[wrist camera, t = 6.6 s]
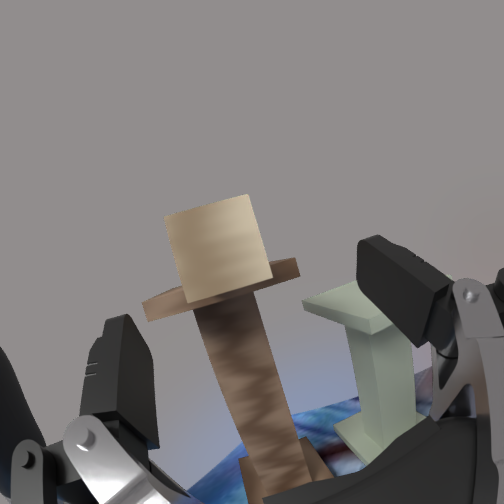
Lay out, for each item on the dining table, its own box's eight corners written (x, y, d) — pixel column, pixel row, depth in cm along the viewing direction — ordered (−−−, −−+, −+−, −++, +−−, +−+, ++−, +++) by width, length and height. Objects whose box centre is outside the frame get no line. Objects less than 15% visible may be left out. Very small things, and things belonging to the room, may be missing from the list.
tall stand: (260, 539, 18) (141, 302, 19) (241, 464, 36) (172, 288, 37) (352, 506, 20) (295, 257, 21) (307, 442, 38) (255, 264, 39)
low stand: (387, 488, 21) (368, 319, 22) (334, 430, 39) (301, 300, 39) (453, 439, 23) (451, 274, 24) (389, 401, 41) (368, 275, 41)
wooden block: (187, 303, 9) (163, 216, 9) (203, 279, 36) (197, 258, 37) (272, 277, 9) (247, 193, 9) (224, 273, 37) (218, 251, 37)
